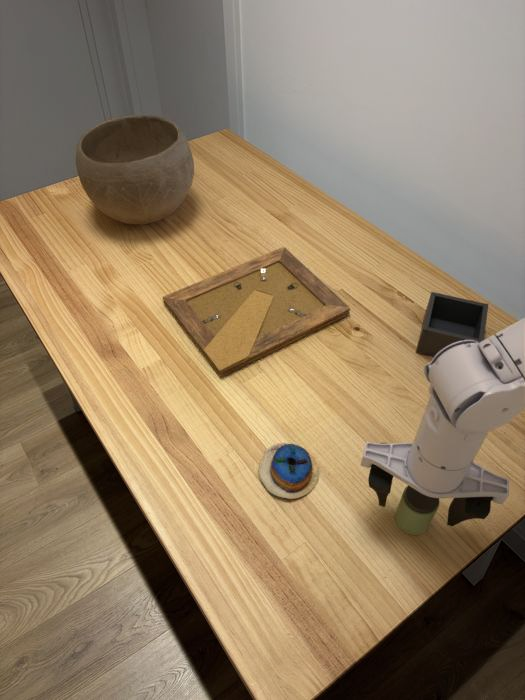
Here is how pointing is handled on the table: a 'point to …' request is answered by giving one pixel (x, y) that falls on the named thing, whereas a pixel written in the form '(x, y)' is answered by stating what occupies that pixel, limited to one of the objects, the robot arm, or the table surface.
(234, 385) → the table surface
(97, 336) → the table surface
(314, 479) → the dessert
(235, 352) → the picture frame
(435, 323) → the bin
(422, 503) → the green lidded canister
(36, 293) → the table surface
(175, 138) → the bowl
